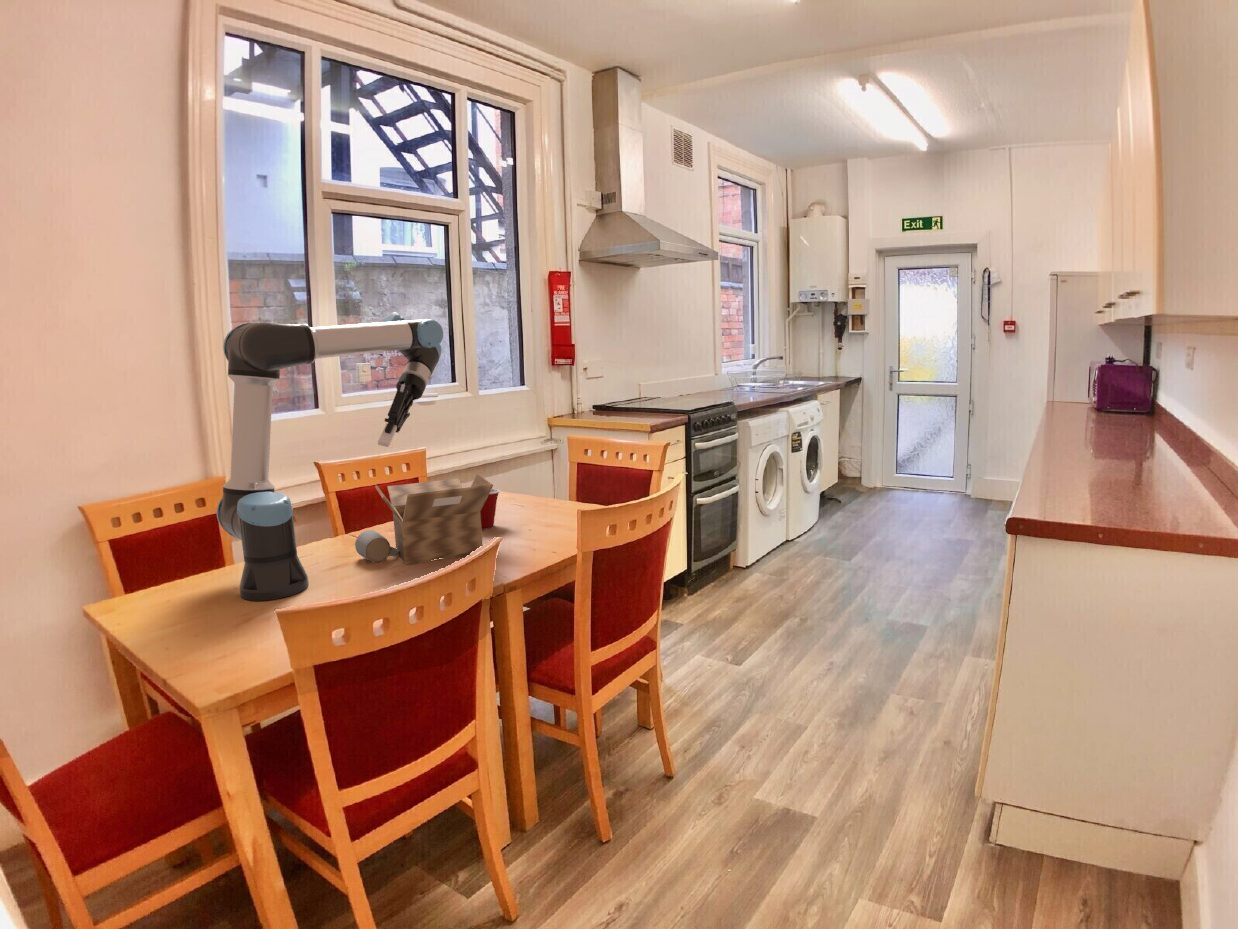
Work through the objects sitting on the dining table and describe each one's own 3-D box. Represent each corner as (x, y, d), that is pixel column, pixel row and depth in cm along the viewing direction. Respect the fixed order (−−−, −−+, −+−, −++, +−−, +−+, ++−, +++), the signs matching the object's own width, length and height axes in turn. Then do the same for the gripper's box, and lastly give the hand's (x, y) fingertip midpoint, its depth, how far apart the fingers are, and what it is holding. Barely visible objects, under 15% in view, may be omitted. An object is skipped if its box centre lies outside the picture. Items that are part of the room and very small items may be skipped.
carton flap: (402, 519, 193) (402, 522, 192) (407, 494, 178) (408, 497, 178) (479, 509, 201) (479, 512, 200) (490, 484, 186) (490, 487, 186)
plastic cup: (509, 524, 233) (507, 487, 231) (485, 532, 224) (483, 494, 222) (483, 520, 239) (481, 484, 236) (460, 528, 230) (457, 491, 228)
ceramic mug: (367, 566, 195) (364, 538, 194) (355, 559, 201) (353, 532, 200) (405, 558, 202) (403, 531, 200) (392, 552, 208) (391, 525, 207)
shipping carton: (388, 567, 193) (382, 497, 190) (377, 543, 216) (371, 480, 213) (498, 551, 205) (493, 484, 201) (476, 529, 228) (472, 469, 225)
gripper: (425, 369, 203) (395, 432, 189) (426, 399, 214) (398, 462, 199) (399, 362, 203) (367, 425, 189) (401, 393, 213) (371, 455, 199)
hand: (383, 444), depth 194 cm, fingers closed
